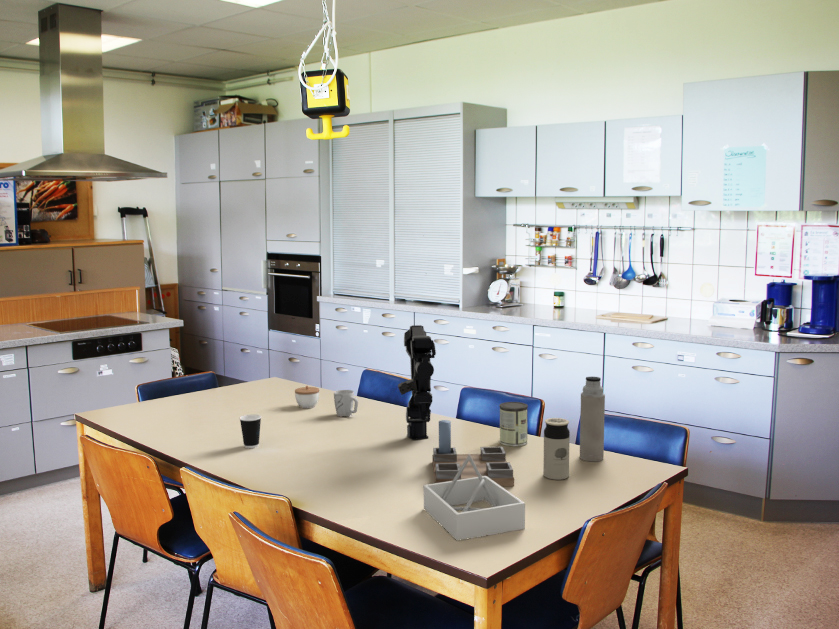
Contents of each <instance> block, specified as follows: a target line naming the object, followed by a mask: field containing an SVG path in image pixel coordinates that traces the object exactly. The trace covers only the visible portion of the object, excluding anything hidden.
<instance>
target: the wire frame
mask: <svg viewBox="0 0 839 629" xmlns="http://www.w3.org/2000/svg"><path fill="white" fill-rule="evenodd" d="M468 461H470V463H471V465H472V467H473V468H474V470H475V472H476V474H477V476H478V478H479V480H480V483H479V485H478V487H477V488H476V490H475V492H474V493H473V495H472V496H471V498H470V500H469V501H468V503H466V504H465V506H451V507H452V508H453V509H454V510H456V511H459V510H463V511H461V512H467V511H473V510H479V509H485V508H480V507H471V505H472V504H473V503H474V502H473V500H474V499H475V497H476V496H477V494H478V492H479V491H480V489H481V487H482V486H483V487H484V489H485V491H486V493H487V495H488V497H489V499H490V501H491V502H492V504H493V506H494V507H497V504H496V503H495V501H494V499H493V497H492V495H491V493H490V491H489V489H488V487H487V486H486V484H485V480H484V479H483V478H482V476H481V474H480V472H479V471H478V469H477V467H476V465H475V463H474V461H473V459H472V457H471V455H468V456H467V458H466V460H465V461H464V463H463V465H462V466H461V468H460V470H459V471H458V473H457V474H456V476H455V478H454V479H453V481H452V483H451V484H450V486H449V488H448V489H447V491H446V493H445V494H444V496H443V498H442V499H443V500H444V501H445V499H446V498H447V496H448V494H449V493H450V491H451V489H452V488H453V486H454V484H455V483H456V481H457V480H458V478H459V476H460V475H461V473H462V471H463V470H464V468H465V466H466V465H467V463H468ZM493 506H492V507H493Z"/></svg>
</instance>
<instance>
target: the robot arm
mask: <svg viewBox="0 0 839 629" xmlns="http://www.w3.org/2000/svg"><path fill="white" fill-rule="evenodd" d="M424 328H425V327H424V326H423V325H421V324H419V325H418V324H416V325H410V326H409V329H407V330H406V331H405V332H404V335H403V346H404V347H405V351H406V354H407V355H408V356H409V359H410V362H409V363H410V379H408V380H406V381H402V382H400V383H398V384H397V388H398V390H399V393H400V395H405V394H406V393H410V392H411V397H410V398H409V401H408V403H407V406H406V409H405V421H406V423H407V426H406V431H407V434H406V436H407V437H408V438H410V439H411V440H413V441H414V440H415V441H416V440H424V439H429V436H428V435H427V432H428V431H427V430H428V428H427V427H428V426H427V425H428V424H427V423H430V421H431V413H432V411H431V409H430V407H431V405H432V404H433V394H432V393H431V391H432V388H431V384H432V383H431V382H432V381H431V380H432V376H433V375H434V372H435V369H434V365H433V363H432V362H431V359H435V357H436V355H437V350H436V344H435V341H434V340H433V339H432V337H431V336H430V335H427V332H426V330H425V329H424Z"/></svg>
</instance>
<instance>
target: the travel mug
mask: <svg viewBox="0 0 839 629" xmlns="http://www.w3.org/2000/svg"><path fill="white" fill-rule="evenodd" d="M544 423H545V428H544V430H543V474H542V475H543V476H544V477H545V478H547V479H549V480H555V481H562V480H566V479H568V478H569V477H570V440H571V439H570V429H569V426H568V425H569V423H570V421H569V420H567V419H566V418H562V417H561V418H560V417H550V418H546V419H545V420H544Z"/></svg>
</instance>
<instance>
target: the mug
mask: <svg viewBox="0 0 839 629" xmlns="http://www.w3.org/2000/svg"><path fill="white" fill-rule="evenodd" d="M333 400H334V408H335V412H336V416H337V417H339V416H348V417H351V416H352V414H356V413H357V412H358V407H359V400H358V398H357V397H355V392H354V391H353V390H351V389H338V390H334V392H333ZM353 408H354V409H353ZM350 415H351V416H350Z"/></svg>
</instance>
